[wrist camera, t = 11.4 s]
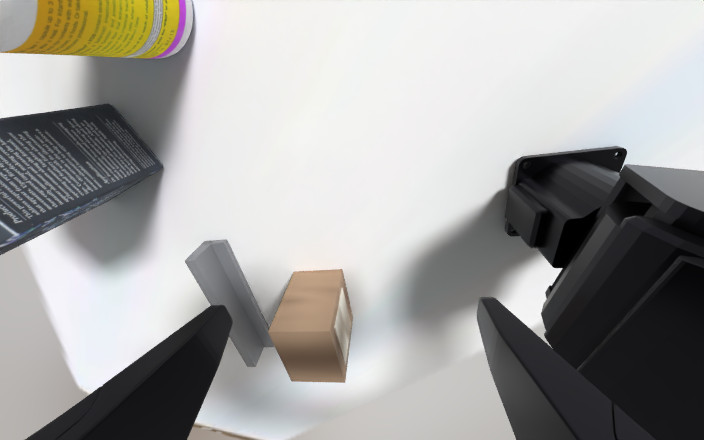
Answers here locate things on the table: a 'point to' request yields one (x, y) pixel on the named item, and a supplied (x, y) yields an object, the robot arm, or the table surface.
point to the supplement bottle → (95, 27)
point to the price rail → (231, 297)
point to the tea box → (314, 327)
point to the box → (64, 168)
